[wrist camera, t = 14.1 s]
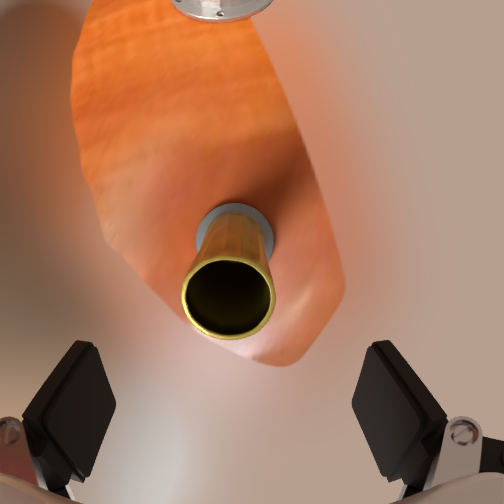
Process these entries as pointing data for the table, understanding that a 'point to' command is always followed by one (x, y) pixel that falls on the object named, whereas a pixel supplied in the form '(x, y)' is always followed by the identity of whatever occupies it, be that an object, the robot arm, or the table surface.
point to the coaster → (241, 209)
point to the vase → (230, 280)
